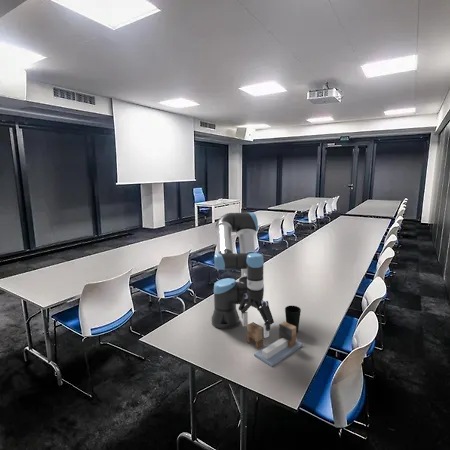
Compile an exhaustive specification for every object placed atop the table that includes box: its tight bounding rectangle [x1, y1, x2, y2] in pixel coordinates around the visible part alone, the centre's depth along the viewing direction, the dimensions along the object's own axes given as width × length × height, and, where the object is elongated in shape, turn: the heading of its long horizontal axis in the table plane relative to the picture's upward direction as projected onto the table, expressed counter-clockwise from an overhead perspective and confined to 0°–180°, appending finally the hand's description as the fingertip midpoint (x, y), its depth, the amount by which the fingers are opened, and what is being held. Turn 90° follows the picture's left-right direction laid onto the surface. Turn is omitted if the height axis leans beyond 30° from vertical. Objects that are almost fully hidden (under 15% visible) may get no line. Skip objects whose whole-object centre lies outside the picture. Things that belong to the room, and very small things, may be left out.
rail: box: [254, 338, 304, 367], centre depth 132 cm, size 10×22×4 cm, turn 131°
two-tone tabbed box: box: [246, 321, 264, 349], centre depth 137 cm, size 7×4×9 cm, turn 41°
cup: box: [284, 305, 302, 334], centre depth 147 cm, size 8×8×12 cm
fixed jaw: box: [278, 321, 297, 348], centre depth 135 cm, size 7×4×9 cm, turn 41°
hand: (255, 330), depth 137 cm, fingers open, 13 cm apart
